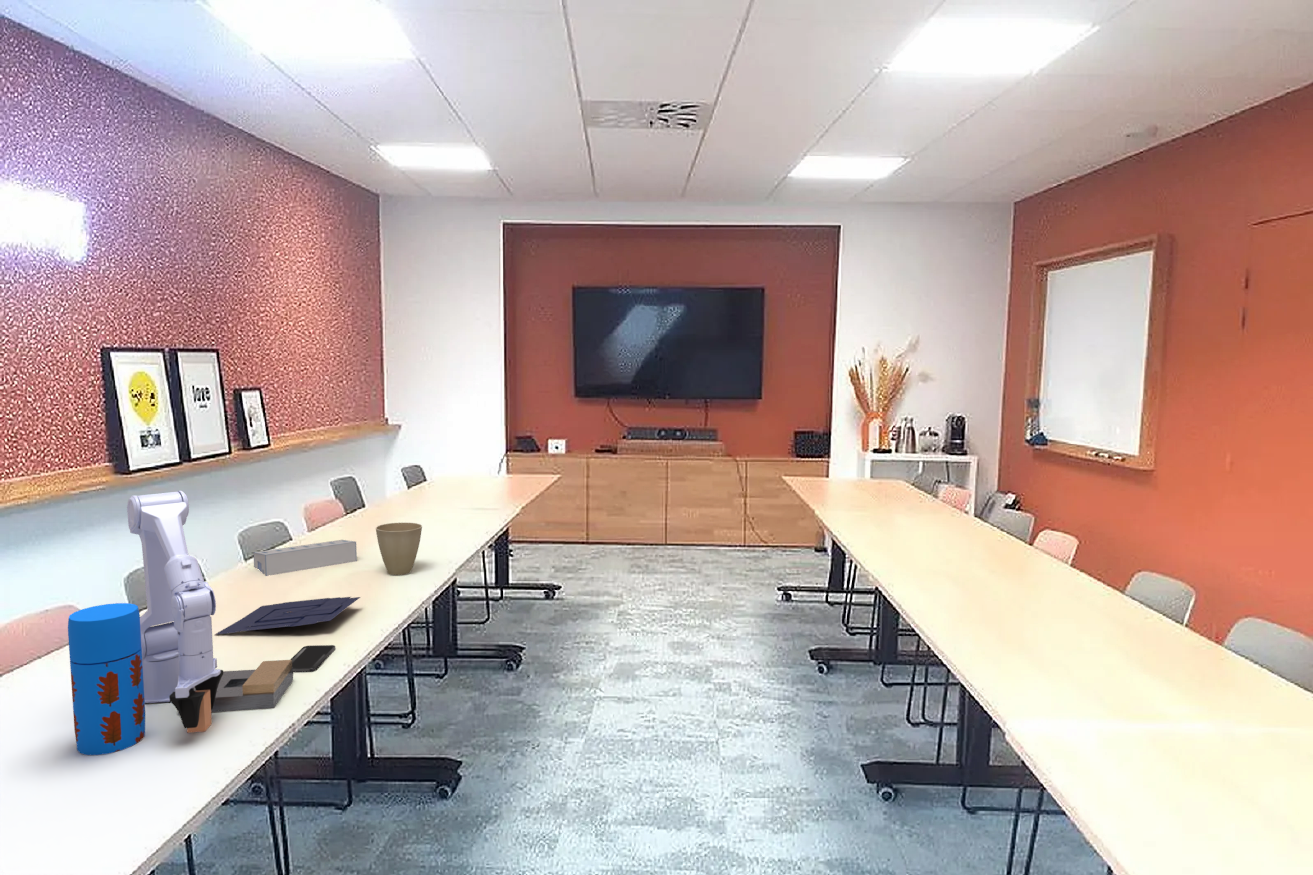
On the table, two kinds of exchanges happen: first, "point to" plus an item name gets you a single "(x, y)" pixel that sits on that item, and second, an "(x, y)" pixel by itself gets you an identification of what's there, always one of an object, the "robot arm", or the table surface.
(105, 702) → the thermos
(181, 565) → the robot arm
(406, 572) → the plant pot
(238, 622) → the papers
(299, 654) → the phone
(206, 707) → the light brown rectangular block
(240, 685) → the bracket plate
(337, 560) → the warehouse
